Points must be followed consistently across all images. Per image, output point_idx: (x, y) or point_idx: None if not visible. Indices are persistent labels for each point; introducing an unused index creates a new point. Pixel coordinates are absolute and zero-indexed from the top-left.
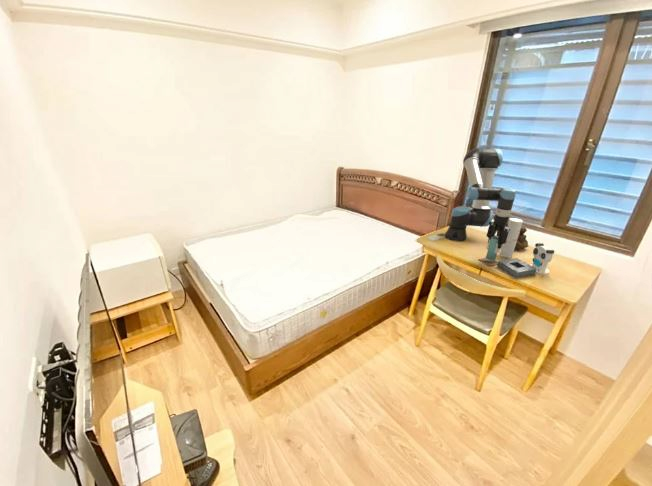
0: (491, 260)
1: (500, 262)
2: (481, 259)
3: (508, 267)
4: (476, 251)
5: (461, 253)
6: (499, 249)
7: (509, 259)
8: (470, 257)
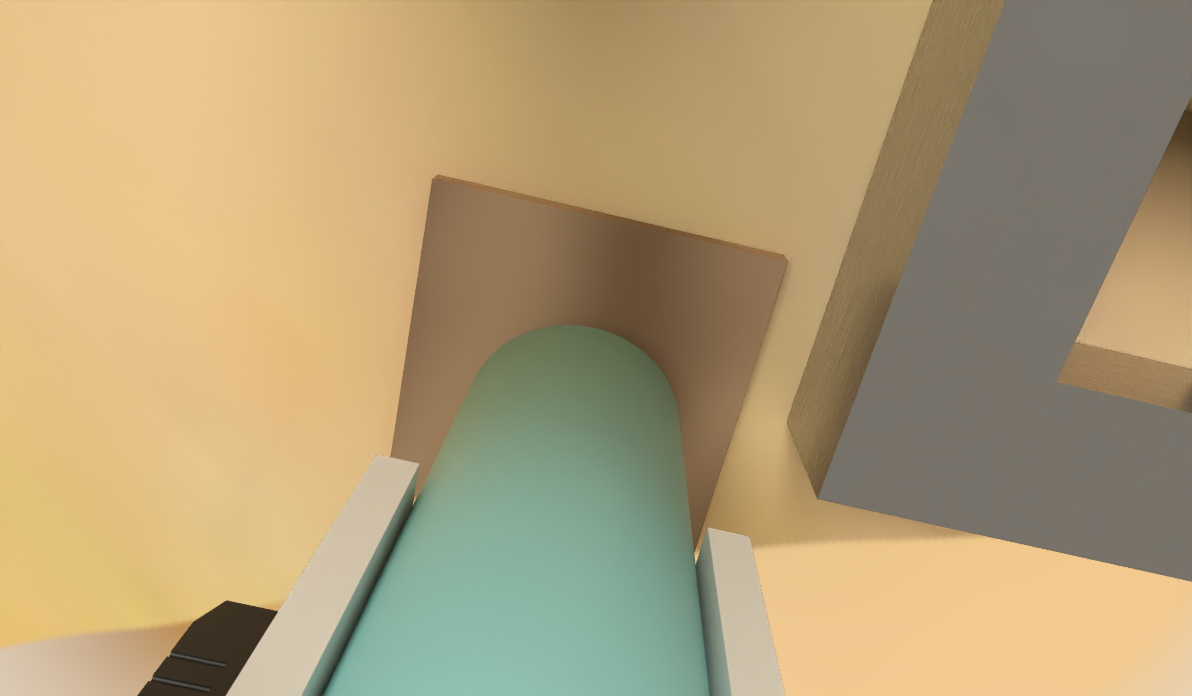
0: (563, 306)
1: (880, 510)
2: (424, 454)
3: (1118, 557)
4: (19, 129)
5: (24, 521)
6: (765, 618)
7: (962, 154)
8: (240, 518)
